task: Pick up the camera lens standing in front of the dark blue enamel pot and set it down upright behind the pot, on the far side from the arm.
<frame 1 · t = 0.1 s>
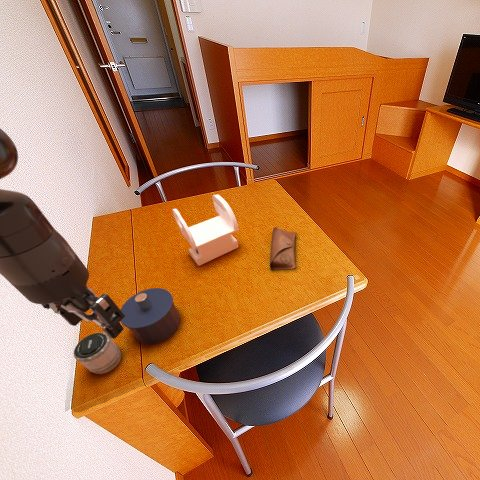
hand: (98, 327, 49), 18 cm above the table, tool pointing down, fingers open, 8 cm apart
pot: (158, 325, 70), on the table
sunglasses case: (284, 250, 93), on the table
camera lens: (107, 362, 62), on the table
pot lid: (147, 307, 65), point 7 cm above the table, touching pot
tape dispenser: (214, 250, 92), on the table
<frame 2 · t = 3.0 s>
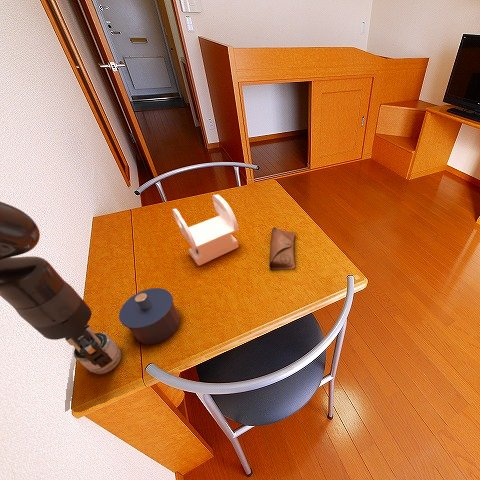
hand: (99, 353, 60), 4 cm above the table, tool pointing down, fingers closed on camera lens, 6 cm apart
camera lens: (107, 362, 62), on the table, touching gripper
everything else where it was.
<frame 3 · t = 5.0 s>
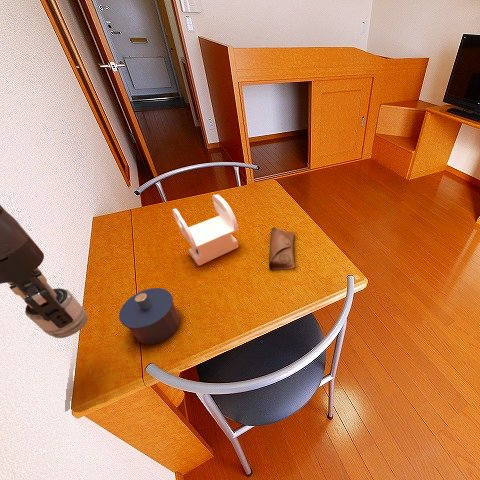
hand: (59, 313, 50), 19 cm above the table, tool pointing down, fingers closed on camera lens, 6 cm apart
camera lens: (70, 325, 53), point 15 cm above the table, touching gripper
everything else where it was.
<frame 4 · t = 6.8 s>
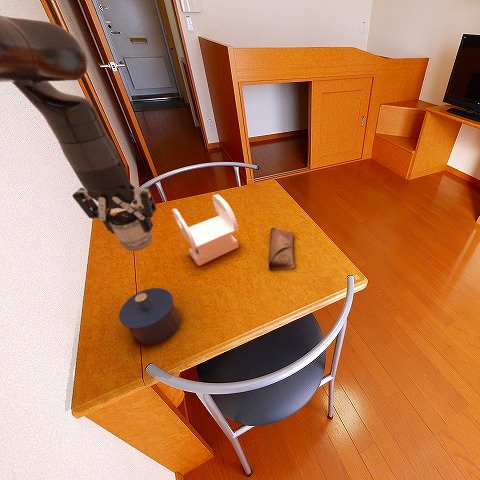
hand: (132, 230, 61), 23 cm above the table, tool pointing down, fingers closed on camera lens, 6 cm apart
camera lens: (139, 243, 64), point 19 cm above the table, touching gripper
everything else where it was.
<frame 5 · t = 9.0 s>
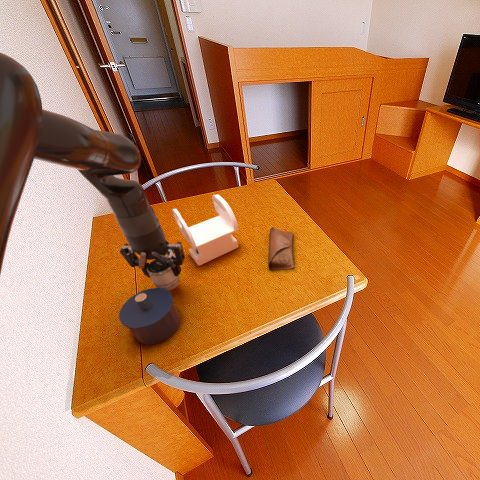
hand: (164, 274, 74), 7 cm above the table, tool pointing down, fingers closed on camera lens, 6 cm apart
camera lens: (169, 283, 76), point 3 cm above the table, touching gripper
everything else where it was.
when the fingers open (4 cm above the table, at t = 10.5 s): camera lens stays where it is, on the table.
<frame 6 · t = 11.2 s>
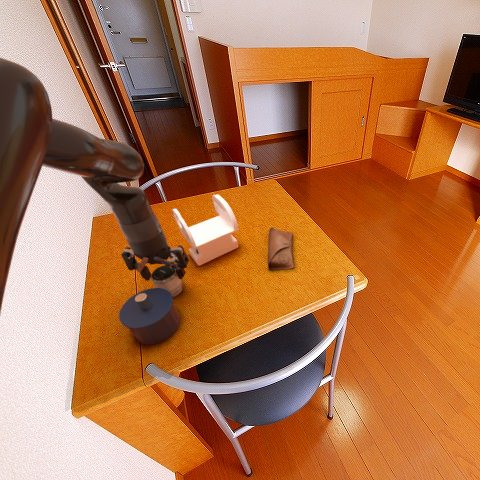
hand: (165, 277, 75), 5 cm above the table, tool pointing down, fingers open, 8 cm apart
camera lens: (172, 290, 78), on the table
everything else where it was.
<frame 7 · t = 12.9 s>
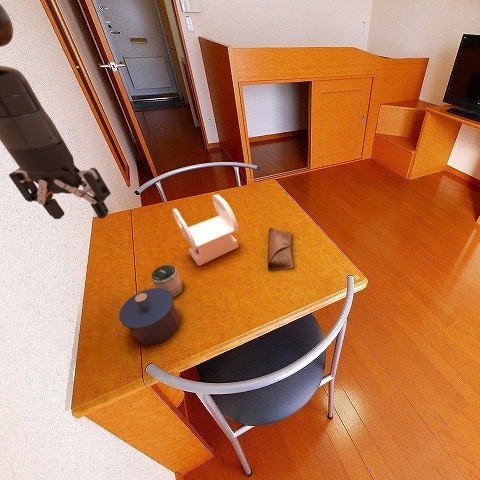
hand: (82, 216, 57), 28 cm above the table, tool pointing down, fingers open, 8 cm apart
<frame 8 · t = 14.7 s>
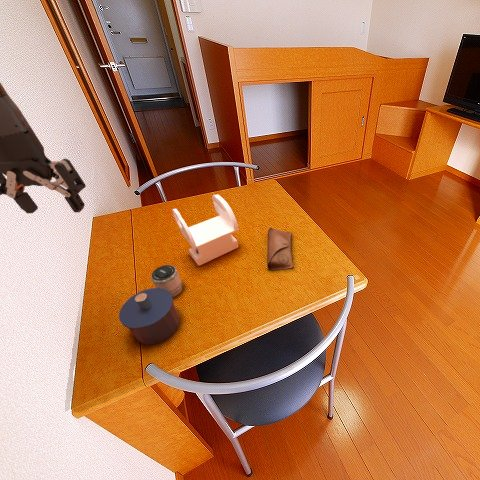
hand: (56, 210, 55), 30 cm above the table, tool pointing down, fingers open, 8 cm apart
at the end: camera lens inside the target area (0.4 cm from its centre), on the table; camera lens tilted 0° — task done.
